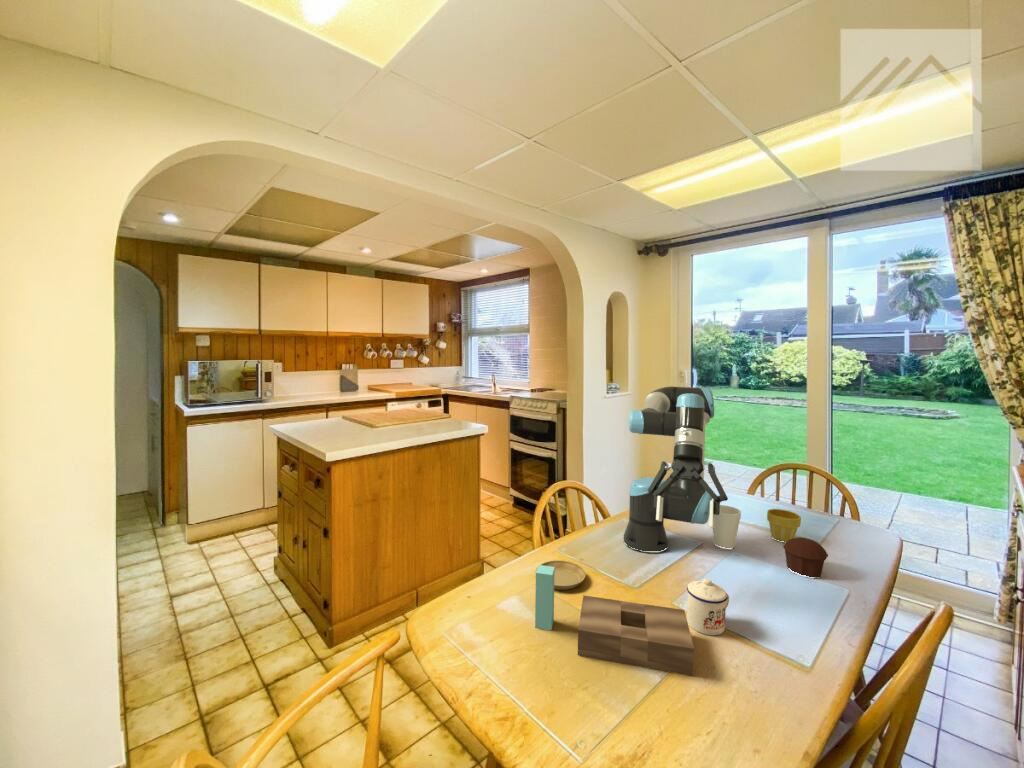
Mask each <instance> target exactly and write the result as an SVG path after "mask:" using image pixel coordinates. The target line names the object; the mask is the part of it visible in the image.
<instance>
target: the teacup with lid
mask: <svg viewBox="0 0 1024 768" xmlns="http://www.w3.org/2000/svg"><path fill="white" fill-rule="evenodd" d="M686 590H687V605H686V606H687V608H686V609H687V610H686V618H687V622H688V626H690V628H692V629H693V630H694V631H696V632H698V633H700V634H702V635H706V636H707V635H708V636H719V635H721V634H723V633H724V631H725V630H726V614H727V613H726V610H727V608H728V606H729V602H730V595H729V593H728V592H727V591H726V590H725V589H724V588H723V587H721V586H720V585H718V584H717V583H714V582H712V580H711V578H708V577H705V578H703V579H700V580H697V579H696V580H693V581H690V582H689V584H687V587H686Z"/></svg>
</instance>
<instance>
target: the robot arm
mask: <svg viewBox="0 0 1024 768" xmlns="http://www.w3.org/2000/svg"><path fill="white" fill-rule="evenodd" d="M714 400H715V399H714V395H713V392H712V390H711V389H710V388H708V387H701V386H698V387H689V386H688V387H687V386H664V387H661V388H657V389H654V390H653V391H651V392H650V393H649V394H647V396H646V397H645V399H644V406H643V407H642V409H638V410H635V409H632V410H631V411H630V412H629V416H628V430H629V432H630V433H632V434H639V435H654V436H664V437H666V436H667V437H674V442H673V443H674V445H675V446H674V447H673V458H672V462H671V463H670V462H666V461H665V460H663V461H661V462H660V468H659V470H658V472H657V473H656V475H655V476H653V477H652V476H646V477H640V478H635V479H633V481H631V482H630V486H629V512H628V514H629V515H628V516H629V517H628V522H627V525H626V527H625V530H624V532H623V540H624V541H623V543H624V542H625V543H626V544H627V545H628V546H630V547H632V548H635V549H638V550H642V551H661V550H664V549H665V548H667V547H668V548H669V540H668V539H669V538H668V535H667V533H666V529H665V525H664V521H665V520H670V521H677V522H683V523H689V524H697V525H698V524H699V525H705V524H707V523H708V521H709V526H708V527H710V528H712V529H713V528H715V515H719V513H720V505H721V502H727V501H728V499H729V498H728V496H727V494H726V492H725V490H724V488H723V486H722V483H721V482H720V481H719V477H718V476H717V473H716V468H715V465H713V463H712V462H709V463H708V464H705V449H706V446H705V445H706V425H708V423H710V420H711V419H713V418H714V417H715V403H714V402H715V401H714ZM670 469H671V470H672V472H671V473H670V475H669V476H668V477H667V478H666V479H664V478H665V476H666V474H667V473H668V471H670ZM705 471H706V473H708V474H709V476H710V479H711V480H712V482H713V484H714V487H715V489H716V490H717V492H718V495H717V494H716V492H714V491H713V489H712V488H711V487H710V486H709V484H708V482H706V481H705ZM664 519H665V520H664ZM628 546H627V547H628Z"/></svg>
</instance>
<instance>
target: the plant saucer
mask: <svg viewBox="0 0 1024 768" xmlns="http://www.w3.org/2000/svg"><path fill="white" fill-rule="evenodd" d="M540 565H543V566H551V567H555V578H554V590H559V591H566V590H572V589H574V588H576V587H578V586H579V585H580V584H581V583H582V582H583V581H584V580H585V579H586V575H587V574H586V571H585V569H584V568H583V567H582V566H580V565H579V564H578V563H574V562H572V561H566V560H558V559H557V560H550V561H549V560H548V561H545V562H543V563H540ZM537 569H538V566H537V567H536V569H535V572H536V571H537Z"/></svg>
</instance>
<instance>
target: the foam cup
mask: <svg viewBox="0 0 1024 768" xmlns="http://www.w3.org/2000/svg"><path fill="white" fill-rule="evenodd" d="M741 515H742V511H741V510H740V509H738V508H736V507H734V506H730V505H724V504H720V513H719V515H715V528H712V533H713V534H712V535H713V543H715V544H716V545H718V546H721V547H725V548H732V547H734V548H735V545H736V542H737V541H736V539H737V535H738V530H739V525H740V522H741V518H742V516H741ZM715 544H714V545H715Z"/></svg>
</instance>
